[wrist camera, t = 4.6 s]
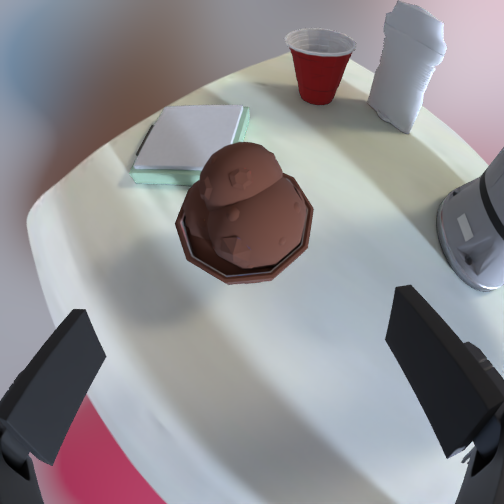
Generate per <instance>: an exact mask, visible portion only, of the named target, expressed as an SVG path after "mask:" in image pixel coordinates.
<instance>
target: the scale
mask: <svg viewBox="0 0 504 504" xmlns="http://www.w3.org/2000/svg"><path fill="white" fill-rule="evenodd" d="M249 119H250V115H249V107H243V105H188V106H169V107H165V108H164V109H163V111H162V112H161V114H160V116H159V118H158V119H157V121H156V123H155V125H152V126H151V127H150V129H149V131H148V133H147V135H146V136H145V138H144V140H143V142H142V144H141V146H140V148H139V150H138V151H137V153H136V155H137V158H136V161H135V163H134V165H133V167H132V169H131V171H130V173H129V174H130V175H131V177H132V178H133V180H134V181H135V183H143V184H169V185H188V186H192V185H193V184H194V183H195V182H197V181H198V180H199V178H200V173H201V171H202V169H203V168H204V166H205V164H206V162H207V161H208V160H209V158H210V157H211V155H212V154H213V153H215V152H216V151H218V150H220V149H221V148H223V147H224V146H227V145H230V144H234V143H237V142H243V141H244V138H245V134H246V130H247V127H248V123H249Z"/></svg>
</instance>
